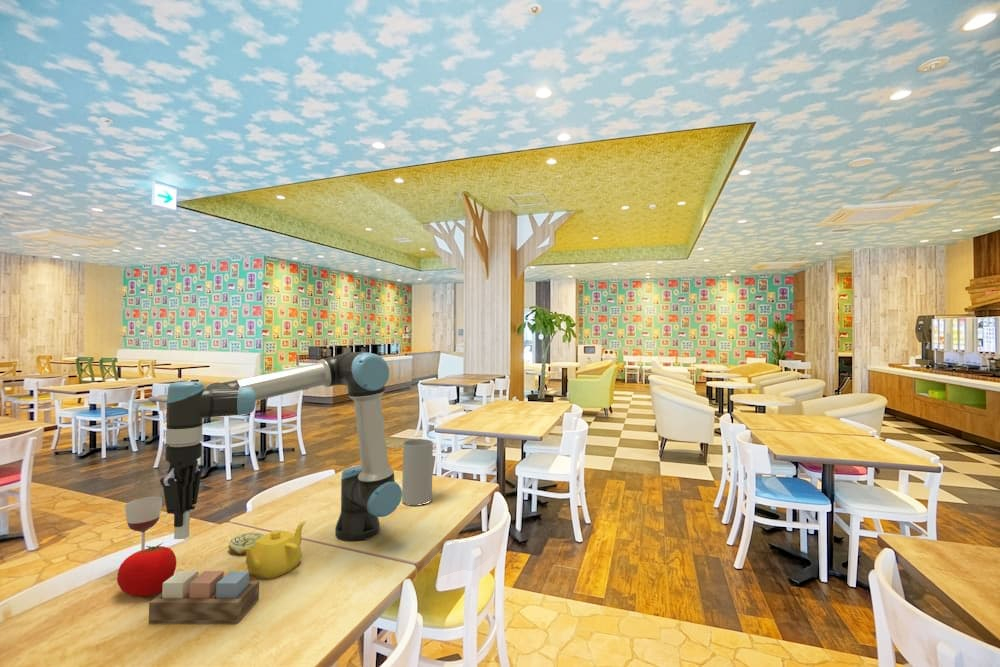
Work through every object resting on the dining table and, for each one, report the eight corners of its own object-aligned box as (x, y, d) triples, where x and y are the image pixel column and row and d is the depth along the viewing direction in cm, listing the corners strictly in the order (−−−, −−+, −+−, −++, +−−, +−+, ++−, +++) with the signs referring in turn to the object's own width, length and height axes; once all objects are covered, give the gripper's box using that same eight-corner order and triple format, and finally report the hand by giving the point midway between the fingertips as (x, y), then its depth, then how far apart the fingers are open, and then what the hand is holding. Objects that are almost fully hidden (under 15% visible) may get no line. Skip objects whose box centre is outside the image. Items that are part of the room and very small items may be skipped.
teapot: (262, 594, 121) (263, 553, 121) (225, 580, 127) (226, 542, 127) (325, 558, 141) (326, 523, 141) (290, 548, 147) (291, 515, 147)
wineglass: (167, 565, 135) (168, 498, 135) (135, 579, 127) (137, 508, 127) (148, 560, 138) (150, 495, 138) (116, 574, 129) (118, 504, 130)
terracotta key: (223, 590, 116) (223, 571, 116) (209, 603, 110) (209, 583, 110) (204, 590, 116) (204, 571, 116) (189, 603, 110) (189, 583, 110)
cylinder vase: (429, 506, 185) (430, 446, 186) (398, 506, 185) (400, 445, 186) (434, 496, 198) (434, 439, 198) (405, 495, 198) (406, 438, 198)
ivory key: (197, 590, 116) (198, 571, 116) (182, 603, 110) (182, 583, 110) (178, 590, 116) (179, 570, 116) (162, 603, 110) (162, 583, 110)
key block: (258, 599, 118) (259, 580, 118) (237, 623, 108) (237, 602, 108) (177, 599, 118) (178, 580, 118) (148, 623, 108) (149, 602, 108)
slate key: (248, 590, 116) (249, 571, 116) (235, 603, 110) (236, 583, 110) (229, 590, 116) (230, 571, 116) (216, 603, 110) (216, 583, 110)
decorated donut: (238, 560, 139) (238, 547, 139) (222, 550, 145) (222, 538, 145) (271, 547, 148) (271, 536, 148) (255, 538, 154) (255, 527, 154)
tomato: (131, 611, 112) (132, 564, 113) (109, 593, 120) (110, 550, 120) (186, 588, 123) (187, 546, 123) (163, 573, 130) (164, 534, 130)
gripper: (186, 437, 120) (184, 526, 119) (149, 449, 107) (146, 549, 106) (215, 438, 120) (212, 527, 120) (181, 449, 107) (178, 549, 106)
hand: (181, 537), depth 113 cm, fingers closed
